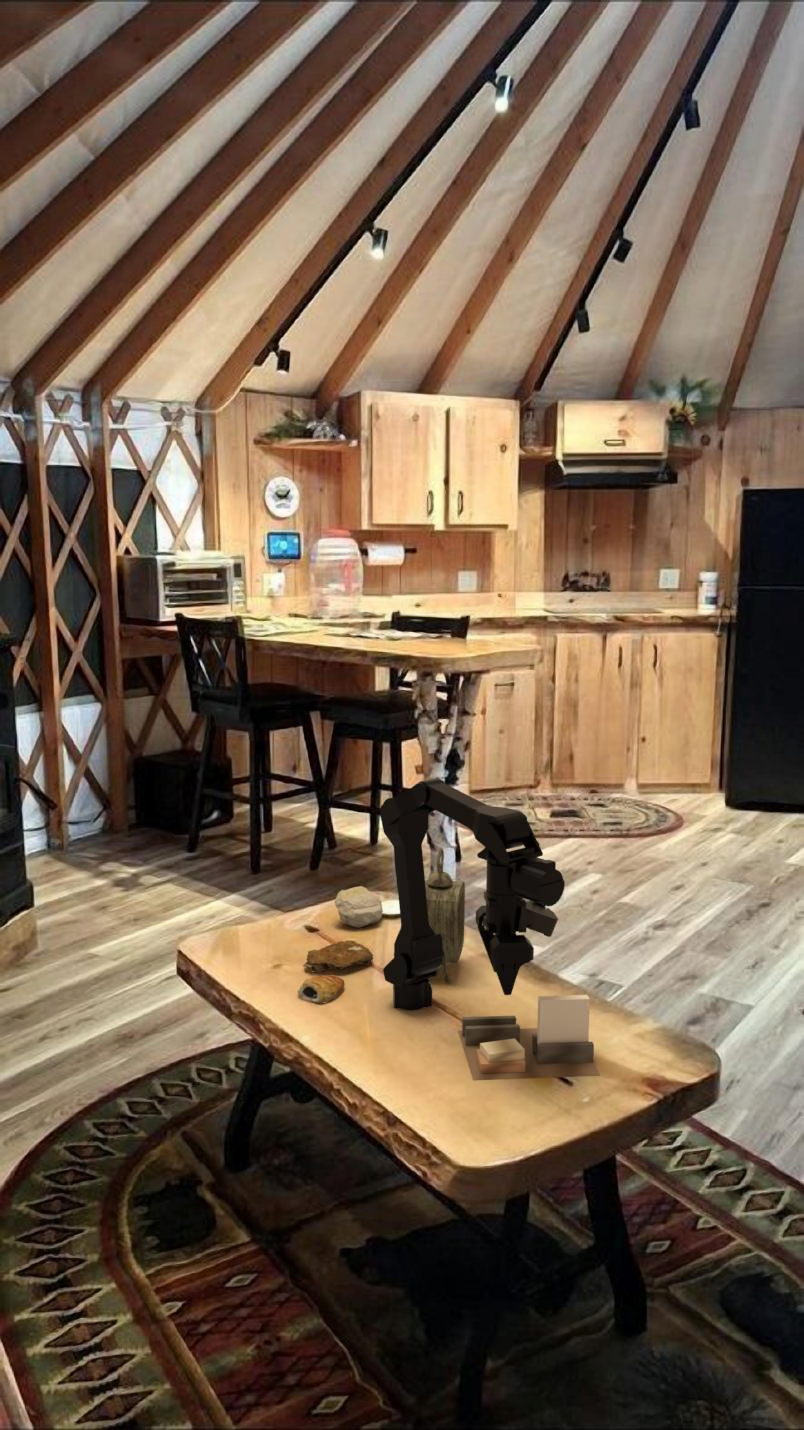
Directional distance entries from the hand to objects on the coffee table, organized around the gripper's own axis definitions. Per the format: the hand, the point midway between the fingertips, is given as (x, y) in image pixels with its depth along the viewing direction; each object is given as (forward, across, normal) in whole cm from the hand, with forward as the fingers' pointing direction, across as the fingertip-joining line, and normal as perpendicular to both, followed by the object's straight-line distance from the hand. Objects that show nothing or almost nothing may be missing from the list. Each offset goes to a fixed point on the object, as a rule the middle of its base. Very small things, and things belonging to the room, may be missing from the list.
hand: (502, 983), depth 165 cm
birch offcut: (+10, -5, +1) cm, 11 cm away
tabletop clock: (+13, +37, +6) cm, 40 cm away
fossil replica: (+13, +66, +20) cm, 70 cm away
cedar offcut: (+12, -5, +1) cm, 13 cm away
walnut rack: (+13, -1, -4) cm, 14 cm away
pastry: (+14, +28, +29) cm, 42 cm away
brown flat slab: (+14, +42, +26) cm, 51 cm away
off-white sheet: (+12, -3, -10) cm, 15 cm away
